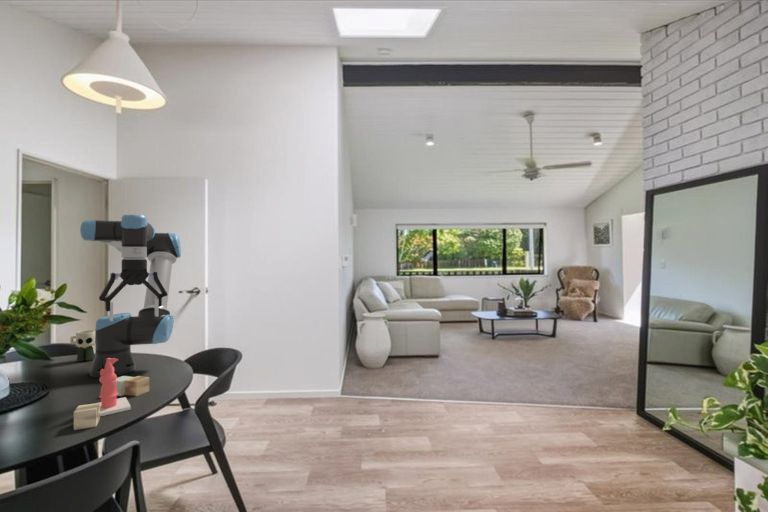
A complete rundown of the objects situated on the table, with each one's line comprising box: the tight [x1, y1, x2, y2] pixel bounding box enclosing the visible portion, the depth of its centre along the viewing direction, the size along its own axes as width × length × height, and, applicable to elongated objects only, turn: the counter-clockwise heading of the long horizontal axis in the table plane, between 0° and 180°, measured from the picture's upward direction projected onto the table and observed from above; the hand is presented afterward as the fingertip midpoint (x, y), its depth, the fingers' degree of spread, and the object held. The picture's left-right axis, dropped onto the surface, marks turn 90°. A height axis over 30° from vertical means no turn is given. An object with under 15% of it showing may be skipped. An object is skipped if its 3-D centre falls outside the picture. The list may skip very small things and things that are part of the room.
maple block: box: [73, 402, 101, 431], centre depth 108 cm, size 5×5×5 cm
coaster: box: [98, 396, 132, 417], centre depth 118 cm, size 10×10×1 cm
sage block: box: [116, 375, 134, 397], centre depth 132 cm, size 5×5×5 cm
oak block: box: [124, 375, 150, 397], centre depth 132 cm, size 5×5×5 cm
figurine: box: [98, 358, 119, 408], centre depth 118 cm, size 5×5×15 cm
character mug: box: [69, 329, 95, 362], centre depth 170 cm, size 11×7×13 cm, turn 119°
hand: (134, 318), depth 135 cm, fingers open, 13 cm apart
